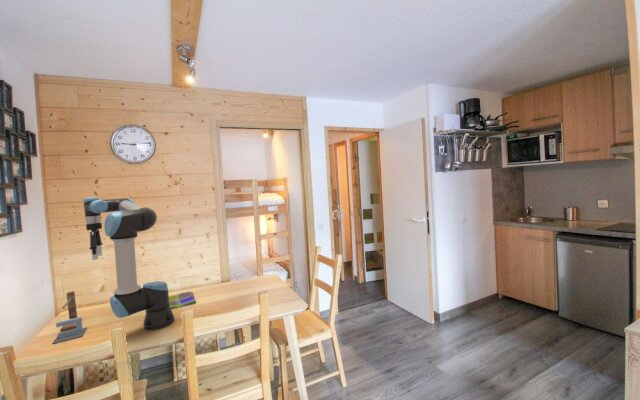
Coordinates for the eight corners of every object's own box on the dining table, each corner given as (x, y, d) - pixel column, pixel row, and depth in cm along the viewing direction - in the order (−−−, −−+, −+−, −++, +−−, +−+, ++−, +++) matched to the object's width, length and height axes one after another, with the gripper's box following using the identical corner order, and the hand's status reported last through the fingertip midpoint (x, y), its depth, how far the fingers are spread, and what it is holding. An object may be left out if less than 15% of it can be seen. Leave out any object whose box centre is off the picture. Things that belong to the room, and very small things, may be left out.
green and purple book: (166, 311, 183) (165, 307, 183) (165, 300, 204) (165, 296, 204) (196, 304, 191) (196, 300, 191) (193, 294, 212) (192, 290, 212)
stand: (74, 331, 163) (70, 298, 162) (58, 335, 160) (54, 301, 159) (81, 320, 178) (78, 290, 178) (67, 323, 175) (63, 293, 174)
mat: (82, 337, 155) (81, 335, 155) (52, 344, 150) (52, 343, 150) (87, 328, 166) (87, 327, 166) (59, 334, 160) (59, 333, 160)
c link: (82, 331, 161) (81, 316, 161) (81, 332, 159) (80, 318, 159) (59, 336, 157) (57, 322, 156) (57, 338, 154) (56, 323, 154)
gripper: (97, 223, 170) (101, 260, 170) (104, 221, 191) (108, 253, 192) (81, 225, 166) (85, 262, 167) (90, 222, 188) (94, 255, 189)
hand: (97, 257), depth 180 cm, fingers open, 13 cm apart
